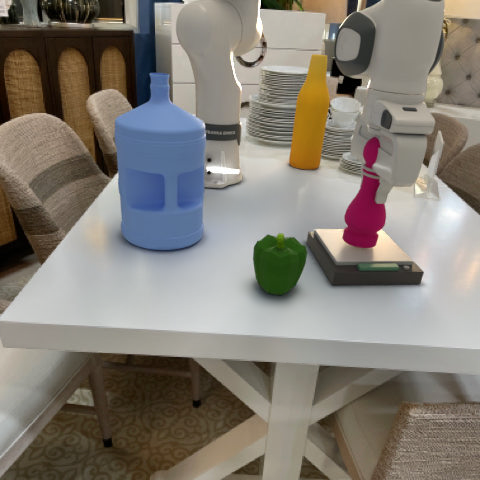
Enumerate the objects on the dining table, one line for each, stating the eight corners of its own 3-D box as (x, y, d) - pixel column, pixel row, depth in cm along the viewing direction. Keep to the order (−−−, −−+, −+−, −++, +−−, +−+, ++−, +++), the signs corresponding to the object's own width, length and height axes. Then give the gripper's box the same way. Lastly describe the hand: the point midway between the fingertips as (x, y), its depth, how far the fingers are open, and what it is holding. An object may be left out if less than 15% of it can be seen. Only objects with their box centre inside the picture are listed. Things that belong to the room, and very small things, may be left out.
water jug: (115, 223, 95) (102, 66, 80) (190, 217, 100) (191, 69, 85) (130, 256, 83) (119, 79, 68) (214, 247, 89) (221, 82, 73)
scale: (332, 285, 79) (335, 268, 78) (306, 242, 93) (308, 227, 92) (420, 284, 82) (425, 267, 80) (382, 243, 96) (386, 228, 94)
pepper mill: (379, 252, 83) (413, 133, 72) (338, 245, 84) (366, 127, 73) (378, 237, 89) (409, 125, 78) (339, 230, 90) (365, 119, 79)
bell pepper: (267, 270, 82) (273, 215, 77) (308, 286, 79) (318, 229, 73) (239, 288, 76) (244, 230, 71) (283, 306, 73) (292, 246, 67)
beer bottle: (321, 171, 137) (339, 57, 121) (289, 168, 137) (303, 55, 121) (317, 162, 145) (334, 55, 129) (287, 160, 145) (300, 52, 129)
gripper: (350, 98, 82) (336, 177, 90) (399, 122, 65) (377, 217, 73) (384, 100, 83) (367, 178, 91) (441, 124, 66) (414, 218, 74)
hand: (372, 196), depth 82 cm, fingers closed on pepper mill, 5 cm apart
